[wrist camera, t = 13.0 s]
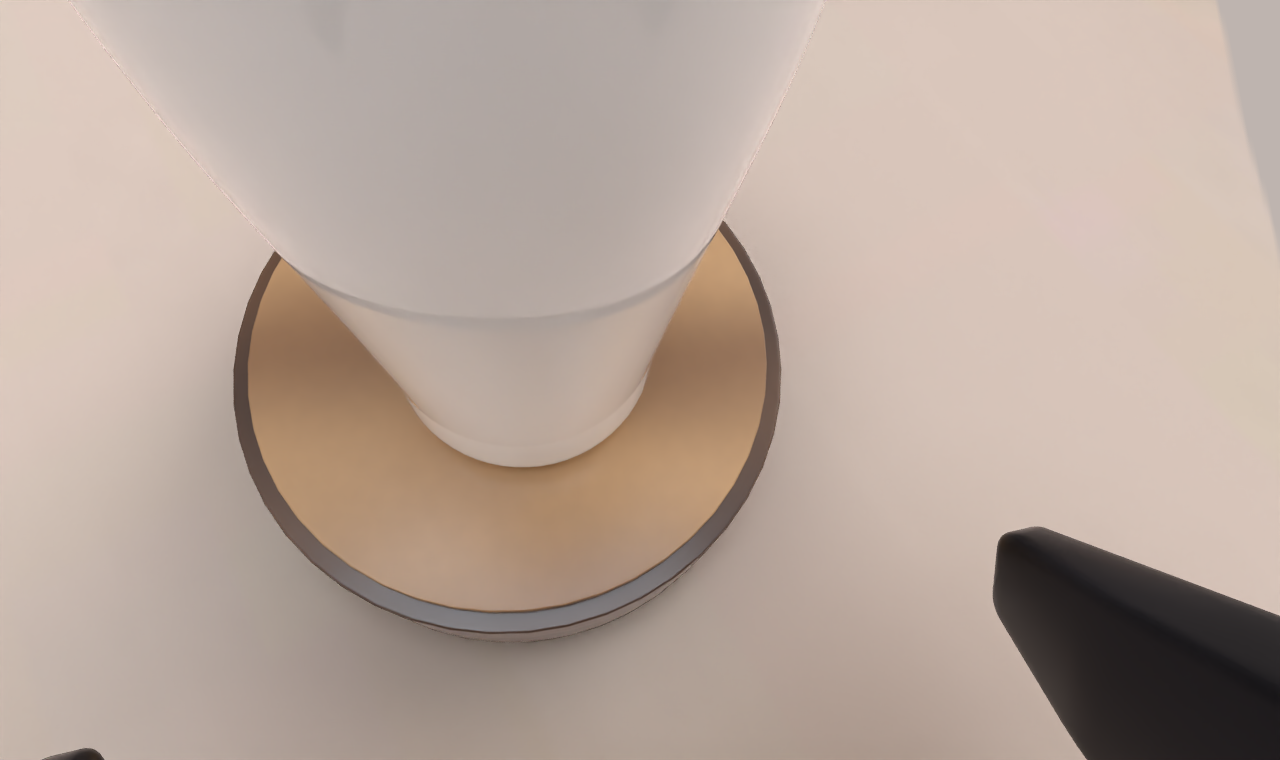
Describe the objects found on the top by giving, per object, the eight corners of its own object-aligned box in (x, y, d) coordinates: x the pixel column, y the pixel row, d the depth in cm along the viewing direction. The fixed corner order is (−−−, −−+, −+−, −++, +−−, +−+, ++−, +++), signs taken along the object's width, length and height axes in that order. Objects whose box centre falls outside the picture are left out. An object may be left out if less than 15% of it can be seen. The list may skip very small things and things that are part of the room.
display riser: (808, 579, 21) (854, 558, 17) (305, 697, 19) (250, 699, 16) (690, 167, 25) (709, 87, 21) (260, 233, 23) (209, 157, 19)
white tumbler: (728, 446, 18) (1291, -396, 4) (417, 558, 17) (-368, -113, 3) (618, 186, 20) (735, -988, 6) (332, 267, 19) (-375, -988, 5)
